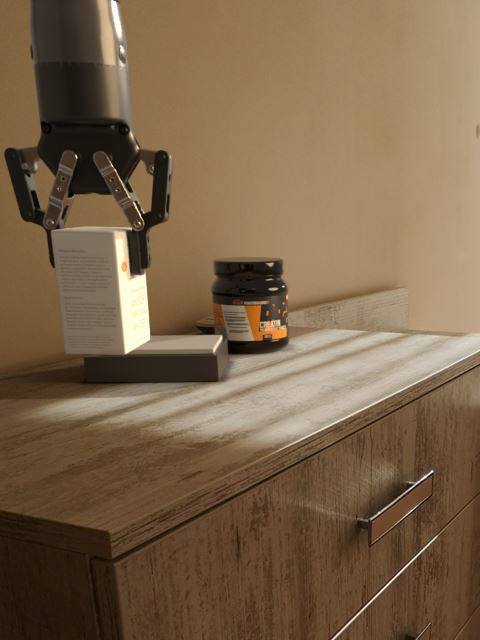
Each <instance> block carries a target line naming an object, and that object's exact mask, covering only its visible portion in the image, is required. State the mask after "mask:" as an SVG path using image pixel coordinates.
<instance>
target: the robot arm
mask: <svg viewBox="0 0 480 640" xmlns="http://www.w3.org/2000/svg"><path fill="white" fill-rule="evenodd" d="M28 3H29V8H28V9H29V11H28V12H29V17H28V19H29V20H28V25H29V26H28V27H29V29H28V30H29V39H30V40H29V41H30V45H29V52H30V58H31V60H32V65H33V73H34V81H35V83H34V84H35V90H36V99H37V108H38V118H39V125H40V136H39V139H38V142H37V145H34V146H28V147H27V146H26V147H21V148H19V147H7V148H6V149H4V152H3V156H4V157H3V158H4V160H5V164H6V167H7V171H8V175H9V178H10V182H11V186H12V190H13V193H14V197H15V200H16V203H17V207H18V211H19V214H20V217H21V219H22V221H24V222H26V223H32V224H35V225H37V226H40V227H41V228H42V229H44V232H45V234H46V241H47V250H48V258H49V263H50V266H51V267H52V269H55V264H54V255H53V247H52V239H51V230H57V229H66V228H65V225H66V223H67V220H68V216H69V214H70V211H71V209H72V208H71V207H72V206H73V205H74V203H75V201H76V198H77V196H78V195H85V196H86V195H92V194H97V195H99V196H112V197H113V198H114V200H115V202H116V204H117V205H118V206H119V208H120V209H121V210H122V213H123V214H124V216H125V218H126V220H127V222H128V224H129V225H130V228H132V232H129V237H130V248H131V260H132V271H133V275H144V274H146V269H150V268H151V264H152V250H151V241H150V240H151V239H150V231H151V229H152V228H154V227H157V226H158V225H161V224H164V223H166V222H168V221H169V220H170V213H171V212H170V211H171V199H172V186H173V172H174V171H173V170H174V159H175V158H174V156H173V154H172V152H170V151H167V150H165V149H159V150H154V149H153V150H152V149H148V148H147V149H146V148H142V147H141V145H140V143H139V142H138V140H137V138H136V134H135V125H134V114H133V113H134V112H133V101H132V100H133V99H132V88H131V76H130V65H129V64H130V63H129V53H128V52H129V51H128V41H127V40H128V39H127V33H126V28H125V27H126V26H125V22H124V18H123V12H122V5H121V0H28ZM40 160H41V161H42V162H43V164H44V165H45V166H46V167H47V169H48V170H49V171H50V172H51V173H52V175H53V176H54V181H53V184H52V187H51V190H50V193H49V196H48V204H47V207H46V210H45V209H43V207H42V203H41V199H40V195H39V191H38V188H37V184H36V180H35V177H34V176H35V174H37V172H38V171H39V165H38V164H39V161H40ZM141 161H142V162H143V164H144V166H145V171H146V173H147V174H148V175H149V176H151V177H152V187H151V188H152V189H151V190H152V191H151V201H150V203H151V204H150V211H147V212H145V210H144V208H143V207H142V204H141V203H140V199H139V197H138V195H137V193H136V191H135V189H134V188H133V185H132V184H131V182H130V178H131V176H132V175H133V173H134V172H135V170H136V168H137V167H138V165H139V164H140V162H141Z"/></svg>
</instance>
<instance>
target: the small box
mask: <svg viewBox="0 0 480 640" xmlns="http://www.w3.org/2000/svg"><path fill="white" fill-rule="evenodd" d="M129 232H132V227H128V226H127V227H123V226H120V227H119V226H89V225H88V226H85V225H83V226H77V227H67V228H65V229H57V230H51V239H52V247H53V255H54V264H55V268H54V273H55V280H56V286H57V296H58V304H59V312H60V313H59V314H60V323H61V328H62V337H63V344H64V346H63V347H64V352H65V354H66V355H87V354H99V355H125V354H127V353H129V352H130V351H132V350H134V349H135V348H137V347H139V346H141V345H142V344H144V343H146V342H147V341H149V340H150V336H151V329H150V328H151V327H150V314H149V313H150V312H149V303H148V302H149V301H148V288H147V287H148V286H147V275H146V273H145V274H144V275H133V271H132V260H131V248H130V237H129Z"/></svg>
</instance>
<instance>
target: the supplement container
mask: <svg viewBox="0 0 480 640" xmlns="http://www.w3.org/2000/svg"><path fill="white" fill-rule="evenodd" d="M212 268H213V269H212V270H213V275H214V276H215V280H214V281H213V282H212V283H211V285H210V293H211V295H212V309H213V324H214V335H222V338H227V346H228V353H233V354H234V353H236V354H261V353H271V352H278V351H280V350H283V349H285V348H286V347H288V345H289V344H290V341H291V335H290V324H289V323H290V320H289V295H288V294H289V293H288V292H289V284H288V283H287V282H286V280H285V279H284V277H283V275H284V274H285V261H284V259H283V258H280V257H269V256H268V257H267V256H237V257H235V256H234V257H221V258H215V259H214V260H213V261H212Z"/></svg>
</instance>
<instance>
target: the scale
mask: <svg viewBox="0 0 480 640" xmlns="http://www.w3.org/2000/svg"><path fill="white" fill-rule="evenodd" d="M83 363H84V364H83V365H84V372H85V373H84V374H85V381H86V383H87V384H99V383H100V384H101V383H103V384H104V383H105V384H107V383H109V384H110V383H113V384H115V383H173V382H174V383H175V382H176V383H177V382H179V383H180V382H181V383H182V382H183V383H184V382H185V383H186V382H188V383H189V382H219V381H220V379H221V378H222V375H223V373H224V371H225V369H226V367H227V365H228V363H229V352H228V346H227V338H222V335H215V334H186V335H185V334H184V335H183V334H178V335H177V334H176V335H171V334H169V335H150V340H149V341H147V342H146V343H144V344H142V345H141V346H139V347H137V348H135V349H134V350H132V351H130V352H129V353H127V354H125V355H99V354H85V356H83Z"/></svg>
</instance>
